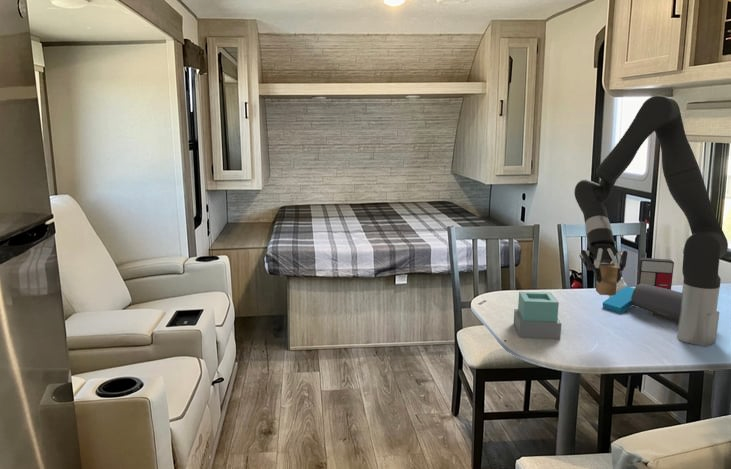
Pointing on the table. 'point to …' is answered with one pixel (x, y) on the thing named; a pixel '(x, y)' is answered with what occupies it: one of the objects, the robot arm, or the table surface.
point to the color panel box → (655, 272)
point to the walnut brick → (607, 279)
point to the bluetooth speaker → (658, 301)
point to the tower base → (536, 328)
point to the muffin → (620, 285)
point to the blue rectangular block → (620, 300)
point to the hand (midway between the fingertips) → (608, 281)
